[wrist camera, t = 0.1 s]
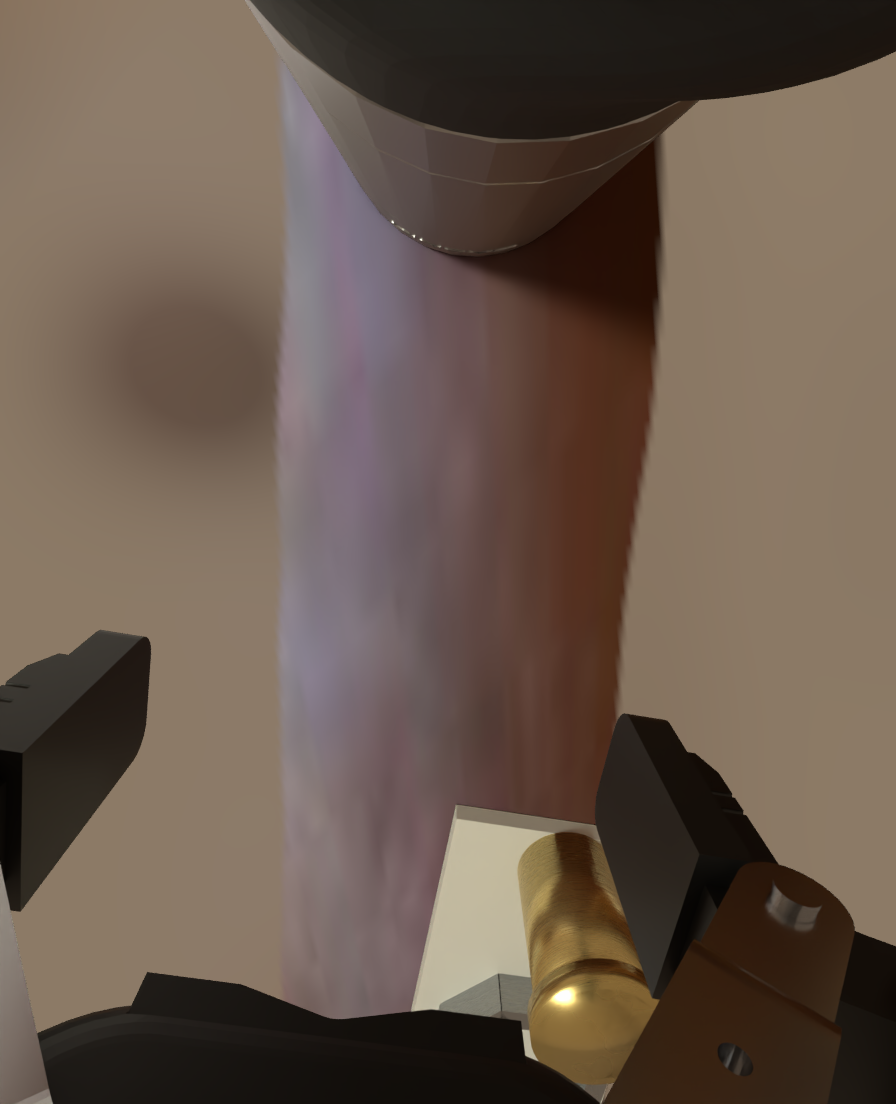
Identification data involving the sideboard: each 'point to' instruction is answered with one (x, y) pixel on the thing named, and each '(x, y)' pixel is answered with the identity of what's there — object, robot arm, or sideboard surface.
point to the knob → (579, 961)
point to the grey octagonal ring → (503, 1006)
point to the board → (481, 904)
